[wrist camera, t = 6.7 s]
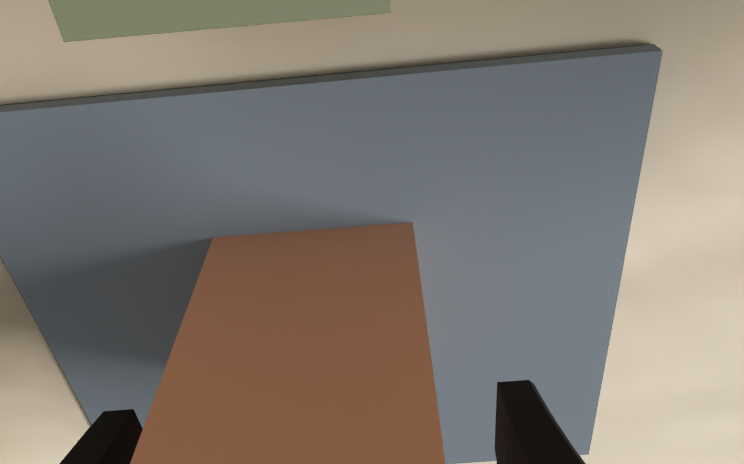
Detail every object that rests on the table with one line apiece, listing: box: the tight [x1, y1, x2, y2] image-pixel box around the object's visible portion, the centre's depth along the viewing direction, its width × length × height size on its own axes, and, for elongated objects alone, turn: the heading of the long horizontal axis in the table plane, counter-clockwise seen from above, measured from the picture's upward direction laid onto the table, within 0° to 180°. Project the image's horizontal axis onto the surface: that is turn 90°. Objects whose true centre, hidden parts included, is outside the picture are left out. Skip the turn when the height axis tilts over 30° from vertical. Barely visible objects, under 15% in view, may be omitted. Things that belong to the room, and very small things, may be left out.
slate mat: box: [0, 44, 662, 464], centre depth 15 cm, size 14×12×1 cm
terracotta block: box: [130, 222, 446, 464], centre depth 12 cm, size 4×4×6 cm
